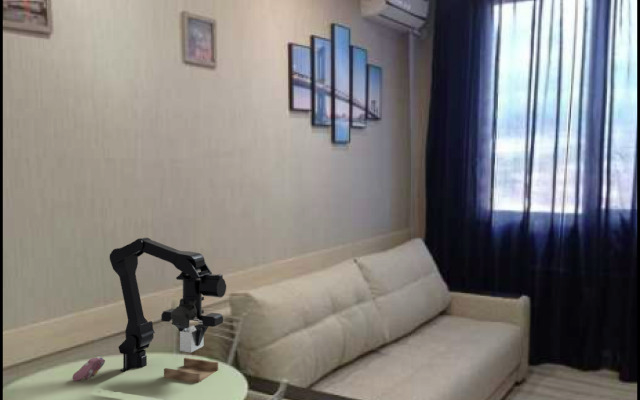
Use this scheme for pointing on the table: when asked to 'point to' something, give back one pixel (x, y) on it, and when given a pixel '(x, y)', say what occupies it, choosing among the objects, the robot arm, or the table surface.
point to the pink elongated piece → (89, 368)
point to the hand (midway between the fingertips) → (191, 345)
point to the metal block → (189, 340)
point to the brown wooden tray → (192, 370)
